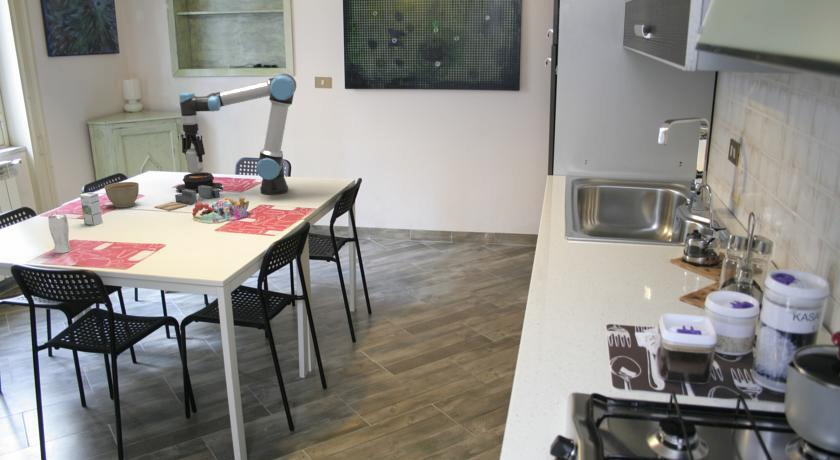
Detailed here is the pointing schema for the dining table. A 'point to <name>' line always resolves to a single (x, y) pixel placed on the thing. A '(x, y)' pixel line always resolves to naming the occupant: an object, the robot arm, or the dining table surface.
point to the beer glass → (59, 232)
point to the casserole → (198, 181)
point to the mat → (171, 206)
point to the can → (192, 161)
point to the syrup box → (91, 208)
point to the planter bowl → (122, 193)
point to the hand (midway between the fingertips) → (195, 167)
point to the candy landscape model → (221, 211)
